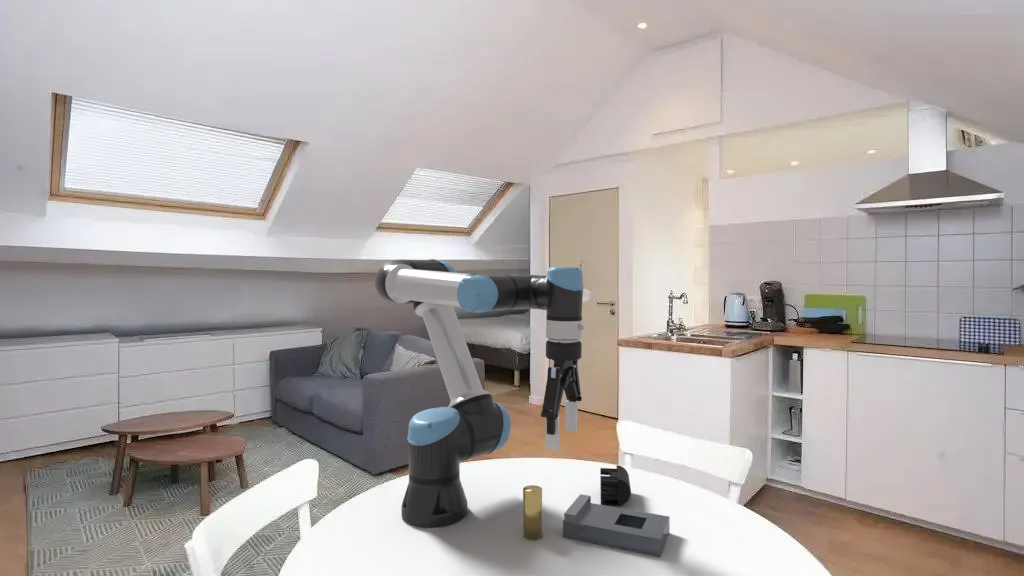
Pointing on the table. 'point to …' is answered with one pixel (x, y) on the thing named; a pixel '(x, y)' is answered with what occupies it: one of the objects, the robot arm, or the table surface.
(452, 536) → the table surface
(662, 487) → the table surface
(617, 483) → the end cap
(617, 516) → the jig
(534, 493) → the brass cylinder rod
